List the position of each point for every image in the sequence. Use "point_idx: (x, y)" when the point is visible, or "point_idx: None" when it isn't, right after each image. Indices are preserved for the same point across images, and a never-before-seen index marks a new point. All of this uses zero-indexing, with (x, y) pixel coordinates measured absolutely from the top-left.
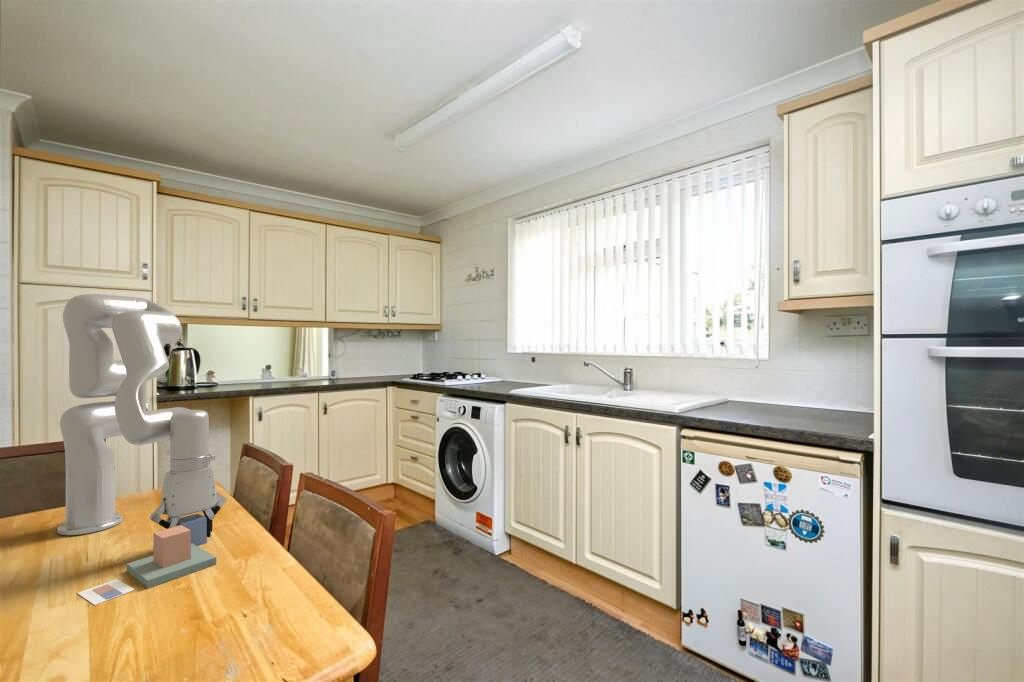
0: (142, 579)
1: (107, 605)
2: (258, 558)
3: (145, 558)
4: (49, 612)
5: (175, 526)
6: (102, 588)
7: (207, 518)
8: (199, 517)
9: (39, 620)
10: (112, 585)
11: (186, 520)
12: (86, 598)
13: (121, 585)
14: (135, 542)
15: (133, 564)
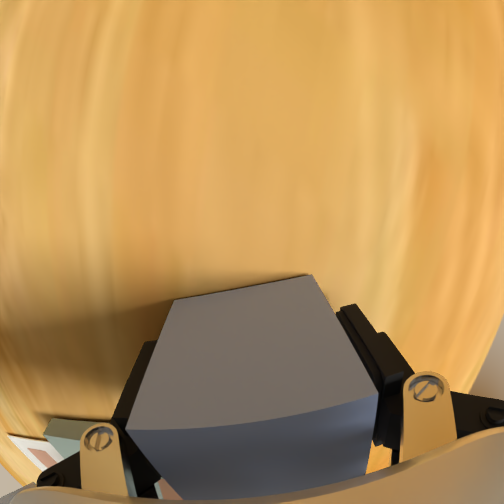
0: None
1: None
2: None
3: None
4: (6, 452)
5: (160, 491)
6: (44, 459)
7: (386, 439)
8: (333, 481)
9: (9, 460)
10: (57, 460)
11: (234, 493)
12: (37, 466)
13: None
14: (26, 83)
15: (65, 453)
